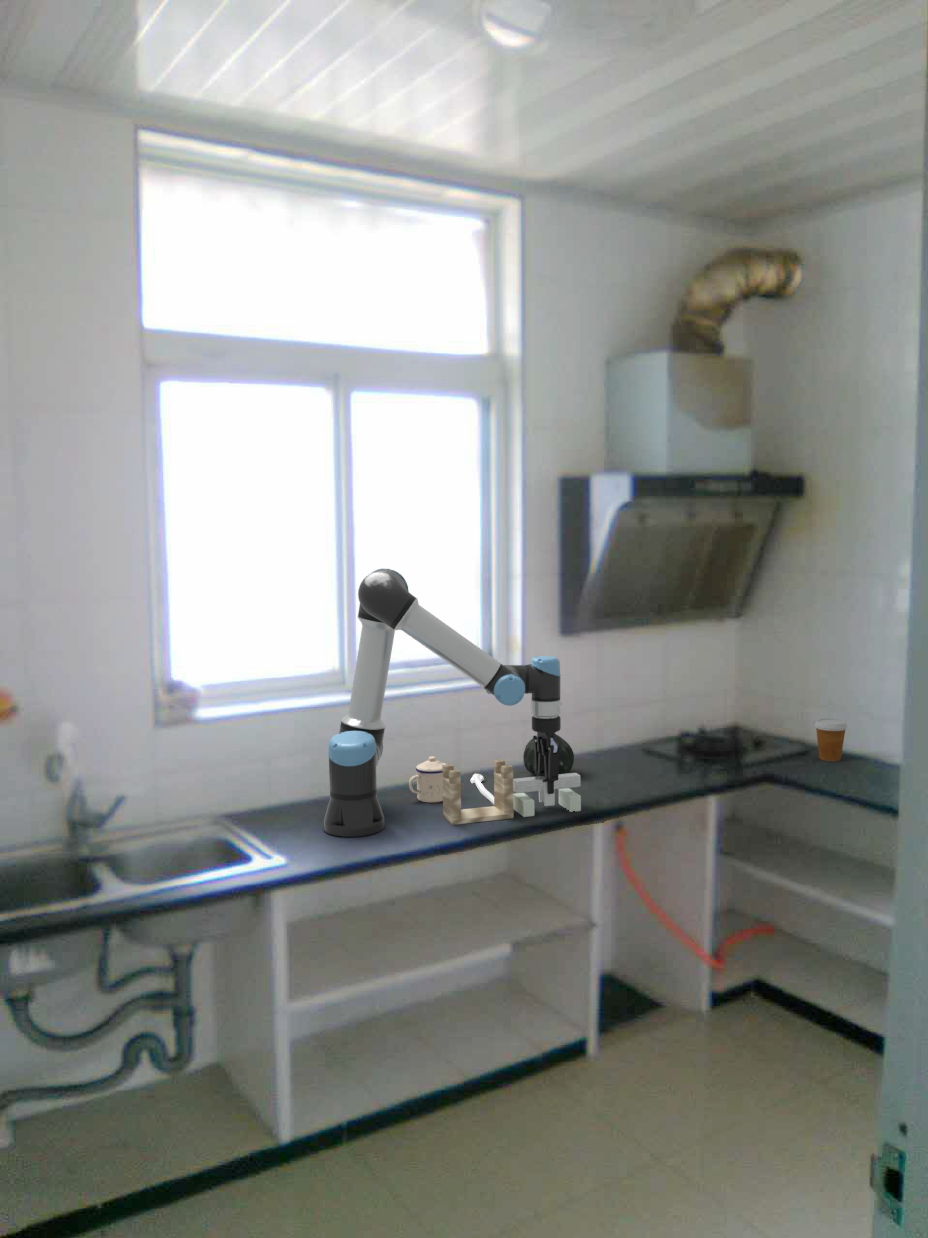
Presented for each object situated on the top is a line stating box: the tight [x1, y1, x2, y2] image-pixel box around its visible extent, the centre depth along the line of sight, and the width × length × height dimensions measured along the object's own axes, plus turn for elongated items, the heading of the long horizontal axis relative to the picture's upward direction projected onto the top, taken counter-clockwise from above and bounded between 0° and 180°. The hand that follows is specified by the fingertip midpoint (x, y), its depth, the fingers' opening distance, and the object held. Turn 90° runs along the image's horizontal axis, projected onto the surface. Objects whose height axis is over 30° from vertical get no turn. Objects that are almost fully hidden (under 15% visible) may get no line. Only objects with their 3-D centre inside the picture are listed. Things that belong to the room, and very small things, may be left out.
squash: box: [523, 733, 575, 777], centre depth 294 cm, size 14×15×15 cm
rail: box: [513, 772, 582, 793], centre depth 261 cm, size 18×3×3 cm, turn 107°
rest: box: [513, 788, 582, 818], centre depth 261 cm, size 16×8×4 cm, turn 107°
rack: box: [442, 759, 514, 826], centre depth 255 cm, size 16×8×14 cm, turn 107°
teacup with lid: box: [408, 756, 448, 803], centre depth 272 cm, size 12×9×12 cm
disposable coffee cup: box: [814, 718, 848, 762], centre depth 309 cm, size 10×10×12 cm
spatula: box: [469, 773, 494, 805], centre depth 278 cm, size 28×4×3 cm, turn 14°
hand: (546, 803), depth 261 cm, fingers closed on rail, 3 cm apart
